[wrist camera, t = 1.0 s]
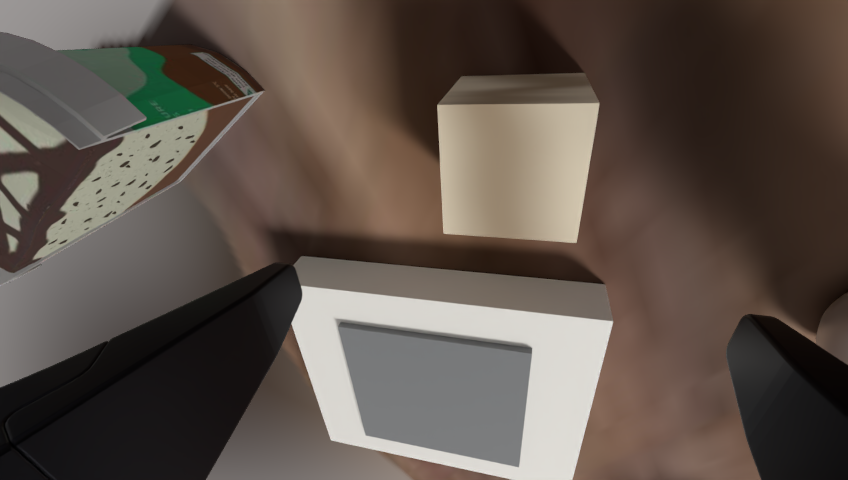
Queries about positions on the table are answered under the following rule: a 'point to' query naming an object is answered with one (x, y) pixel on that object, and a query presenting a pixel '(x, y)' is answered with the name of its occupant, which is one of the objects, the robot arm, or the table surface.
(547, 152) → the birch block
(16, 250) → the food container
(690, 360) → the table surface
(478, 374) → the base
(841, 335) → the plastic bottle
